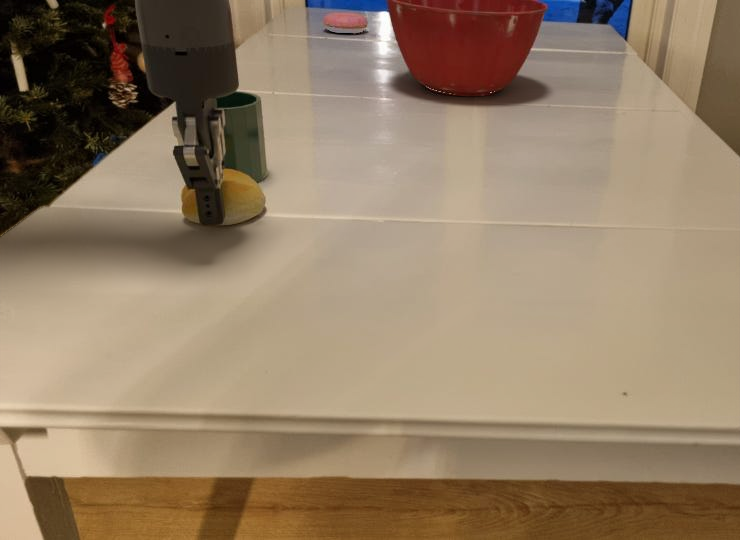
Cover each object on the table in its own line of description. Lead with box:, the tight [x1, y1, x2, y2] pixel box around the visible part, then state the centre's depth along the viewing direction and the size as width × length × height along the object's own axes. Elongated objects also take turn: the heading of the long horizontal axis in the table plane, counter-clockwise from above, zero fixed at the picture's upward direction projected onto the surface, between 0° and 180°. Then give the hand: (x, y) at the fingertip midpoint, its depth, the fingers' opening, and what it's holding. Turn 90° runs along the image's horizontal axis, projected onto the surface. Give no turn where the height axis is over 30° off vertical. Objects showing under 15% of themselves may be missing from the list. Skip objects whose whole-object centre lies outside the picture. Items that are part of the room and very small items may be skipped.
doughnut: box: [322, 11, 369, 35], centre depth 175 cm, size 11×11×4 cm
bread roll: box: [180, 169, 267, 227], centre depth 74 cm, size 8×9×4 cm
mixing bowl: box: [386, 0, 549, 97], centre depth 126 cm, size 28×28×16 cm
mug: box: [174, 90, 268, 184], centre depth 83 cm, size 12×8×9 cm
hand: (212, 222), depth 69 cm, fingers closed
